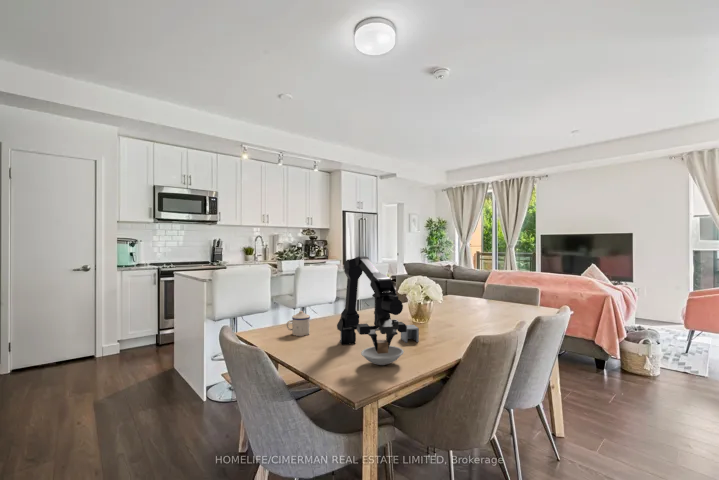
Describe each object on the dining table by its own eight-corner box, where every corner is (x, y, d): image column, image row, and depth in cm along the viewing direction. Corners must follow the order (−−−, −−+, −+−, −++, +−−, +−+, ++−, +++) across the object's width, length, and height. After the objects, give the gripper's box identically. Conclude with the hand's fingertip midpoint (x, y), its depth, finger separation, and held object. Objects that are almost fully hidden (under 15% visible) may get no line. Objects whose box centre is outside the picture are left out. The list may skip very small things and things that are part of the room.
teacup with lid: (307, 330, 182) (307, 308, 182) (312, 335, 174) (312, 312, 174) (284, 333, 178) (284, 310, 178) (288, 338, 169) (288, 314, 169)
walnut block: (378, 353, 132) (378, 343, 132) (375, 350, 136) (375, 340, 136) (388, 352, 133) (388, 342, 133) (385, 349, 137) (385, 339, 137)
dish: (375, 375, 124) (375, 361, 124) (353, 363, 136) (353, 350, 136) (412, 365, 133) (412, 352, 133) (388, 355, 145) (388, 343, 145)
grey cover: (405, 342, 162) (405, 328, 162) (400, 338, 169) (400, 325, 169) (418, 341, 164) (418, 328, 164) (413, 337, 170) (413, 324, 170)
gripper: (363, 315, 124) (363, 358, 125) (412, 313, 128) (412, 355, 129) (356, 309, 135) (356, 349, 135) (402, 307, 139) (402, 346, 139)
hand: (381, 350), depth 134 cm, fingers closed on walnut block, 4 cm apart
